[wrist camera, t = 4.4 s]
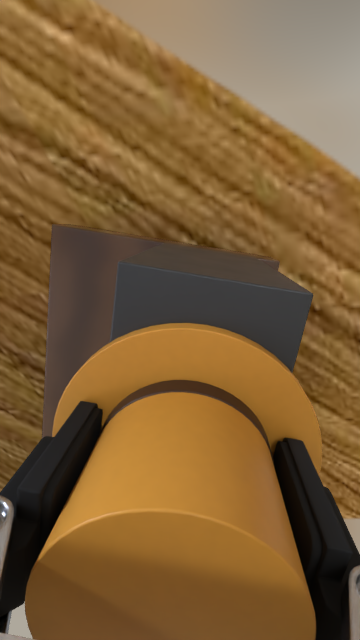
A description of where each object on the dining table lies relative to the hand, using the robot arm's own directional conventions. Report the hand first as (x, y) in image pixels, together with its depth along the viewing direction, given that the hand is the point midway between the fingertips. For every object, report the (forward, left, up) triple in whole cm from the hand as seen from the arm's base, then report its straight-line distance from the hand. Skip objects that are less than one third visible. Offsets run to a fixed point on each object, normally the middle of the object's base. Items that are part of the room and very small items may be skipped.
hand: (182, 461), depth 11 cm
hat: (0, 0, -1) cm, 1 cm away
